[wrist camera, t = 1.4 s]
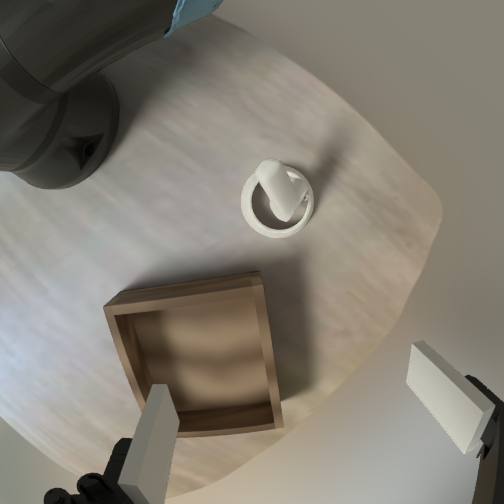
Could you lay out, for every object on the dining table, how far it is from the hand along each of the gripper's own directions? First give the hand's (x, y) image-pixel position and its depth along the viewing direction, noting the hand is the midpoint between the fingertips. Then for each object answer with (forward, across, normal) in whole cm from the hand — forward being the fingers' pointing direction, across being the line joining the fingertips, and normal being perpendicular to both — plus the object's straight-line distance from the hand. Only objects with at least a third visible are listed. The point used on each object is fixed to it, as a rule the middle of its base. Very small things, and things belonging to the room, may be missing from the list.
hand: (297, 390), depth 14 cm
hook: (+19, +2, +8) cm, 21 cm away
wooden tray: (+19, -8, -8) cm, 22 cm away
